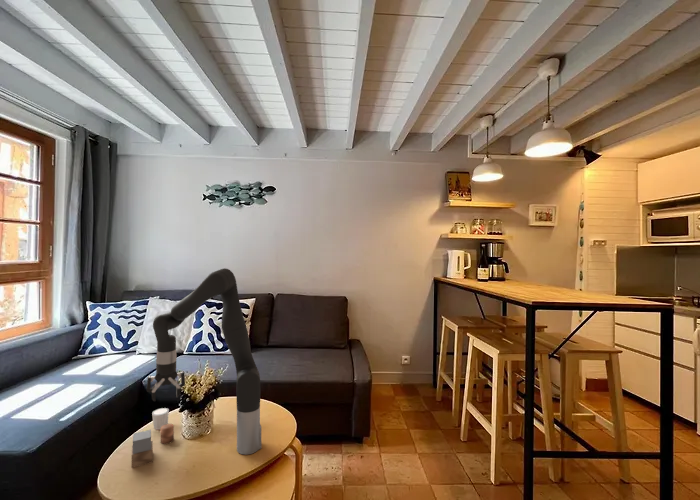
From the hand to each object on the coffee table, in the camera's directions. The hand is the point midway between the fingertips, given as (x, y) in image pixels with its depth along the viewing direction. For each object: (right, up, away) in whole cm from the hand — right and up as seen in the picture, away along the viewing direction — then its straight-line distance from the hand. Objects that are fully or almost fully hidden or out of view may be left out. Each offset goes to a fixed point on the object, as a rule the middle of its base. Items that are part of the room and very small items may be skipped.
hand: (166, 398), depth 151 cm
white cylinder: (-9, -18, +13) cm, 24 cm away
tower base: (-3, -19, -11) cm, 23 cm away
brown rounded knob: (0, -19, +2) cm, 19 cm away
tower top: (-3, -14, -12) cm, 19 cm away
